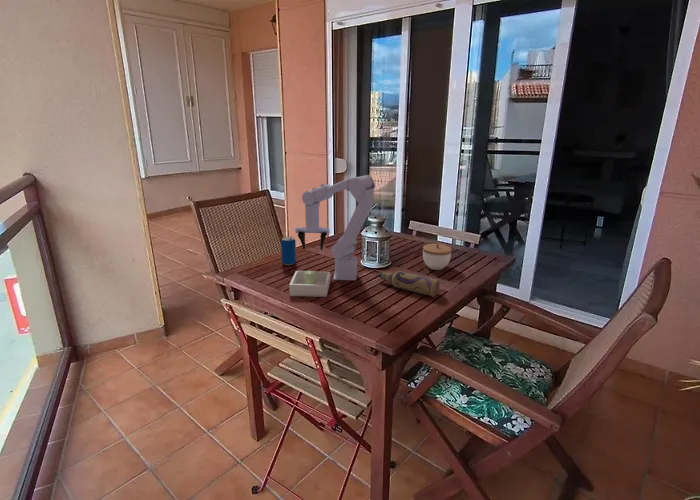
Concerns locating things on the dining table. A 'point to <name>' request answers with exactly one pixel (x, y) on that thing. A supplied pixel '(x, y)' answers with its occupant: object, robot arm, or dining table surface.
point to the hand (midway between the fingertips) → (312, 248)
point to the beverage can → (288, 250)
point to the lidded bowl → (436, 255)
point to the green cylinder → (310, 277)
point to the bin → (310, 285)
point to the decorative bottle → (412, 282)
